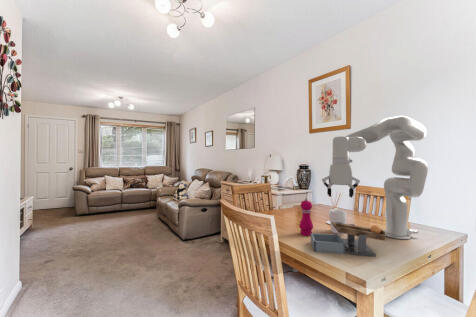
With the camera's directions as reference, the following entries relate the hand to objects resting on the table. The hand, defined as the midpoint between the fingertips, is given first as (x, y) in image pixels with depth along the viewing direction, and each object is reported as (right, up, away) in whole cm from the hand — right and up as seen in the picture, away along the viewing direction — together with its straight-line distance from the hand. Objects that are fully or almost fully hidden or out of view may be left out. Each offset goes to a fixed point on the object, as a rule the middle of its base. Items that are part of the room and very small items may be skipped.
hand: (340, 196), depth 111 cm
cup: (+6, -23, +18) cm, 30 cm away
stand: (+5, -23, -6) cm, 24 cm away
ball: (+11, -13, -10) cm, 20 cm away
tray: (+5, -15, -5) cm, 17 cm away
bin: (-9, -23, -6) cm, 25 cm away
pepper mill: (-13, -23, +13) cm, 30 cm away
